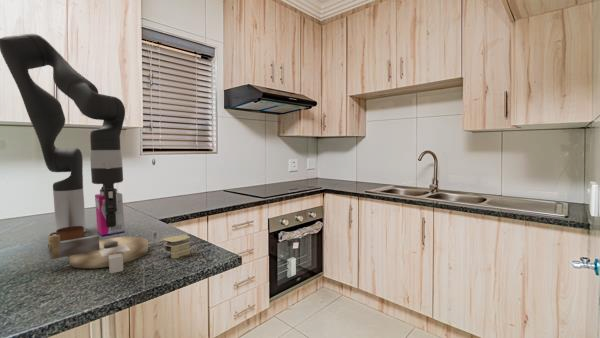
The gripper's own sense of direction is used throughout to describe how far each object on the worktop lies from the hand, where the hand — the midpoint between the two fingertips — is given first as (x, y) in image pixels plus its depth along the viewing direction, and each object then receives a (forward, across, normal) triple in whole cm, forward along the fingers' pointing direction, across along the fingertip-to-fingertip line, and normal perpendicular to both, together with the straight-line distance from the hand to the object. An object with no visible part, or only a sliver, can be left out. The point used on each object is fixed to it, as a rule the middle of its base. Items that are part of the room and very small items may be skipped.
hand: (110, 224), depth 85 cm
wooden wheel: (+11, -5, -2) cm, 12 cm away
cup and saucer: (+12, -25, -10) cm, 29 cm away
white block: (+11, +8, 0) cm, 14 cm away
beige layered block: (+12, +6, +16) cm, 21 cm away
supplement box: (+3, 0, 0) cm, 3 cm away
